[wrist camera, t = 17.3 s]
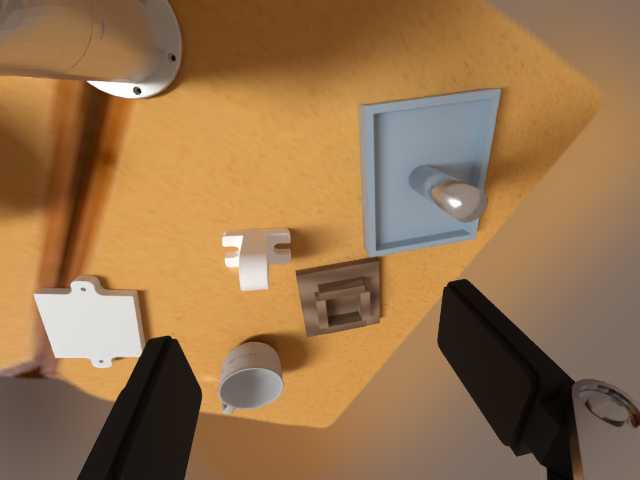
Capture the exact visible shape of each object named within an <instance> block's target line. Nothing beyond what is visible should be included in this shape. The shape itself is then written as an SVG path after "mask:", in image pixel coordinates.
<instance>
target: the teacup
mask: <svg viewBox="0 0 640 480" xmlns="http://www.w3.org/2000/svg"><path fill="white" fill-rule="evenodd" d="M283 387H284V382H283V379H282V371H281V364H280V359H279V356H278V354H277V352H276V351H275V350H274V349H273V348H272V347H271V346H269V345H267V344H265V343H261V342H247V343H244V344H241V345H239V346H237V347H235V348H234V349H232V350H231V351H230V352H229V353H228V355H227V356H226V358H225V360H224V363H223V366H222V371H221V379H220V386H219V389H218V394H219V398H220V399H221V401H222V412H223V413H225V414H231V413H232V412H233V411H234V410H235V408H236V409H245V410H248V409H257V408H260V407H263V406H265V405H268V404H270V403H271V402H273V401H275V400H276V399H277V398H278V397H279V396H280V394H281V393H282V391H283Z"/></svg>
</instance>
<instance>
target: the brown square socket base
mask: <svg viewBox="0 0 640 480" xmlns="http://www.w3.org/2000/svg"><path fill="white" fill-rule="evenodd" d="M296 277H297V283H298V288H299V294H300V299H301V305H302V311H303V316H304V322H305V328H306V333H307V337H311V336H317V335H322V334H329V333H334V332H339V331H344V330H349V329H354V328H359V327H364V326H367V325H372V324H377V323H380V303H379V260H378V259H377V257H371V258H366V259H360V260H354V261H349V262H343V263H337V264H332V265H326V266H320V267H315V268H309V269H303V270H298V271H296Z"/></svg>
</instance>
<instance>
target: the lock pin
mask: <svg viewBox="0 0 640 480" xmlns="http://www.w3.org/2000/svg"><path fill="white" fill-rule="evenodd" d="M409 185H410V187H411V188H412V189H413V190H414V191H416V192H417V193H419V194H420V195H421V196H423V197H424V198H426V199H427V200H429V201H430V202H432V203H433V204H435V205H436V206H438V207H439V208H441V209H442V210H444V211H445V212H447V213H448V214H450V215H451V216H453V217H454V218H456V219H457V220H458V221H460V222H464V223H467V222H472V221H474V220H476V219H477V218H479V217H480V216H481V215H482V214H483V212H484V211H485V209H486V206H487V196H486V194H485V193H484V192H483V191H482V190H480V189H477V188H475V187H473V186H471V185H469V184H467V183H464V182H462V181H460V180H458V179H456V178H454V177H451V176H449V175H447V174H445V173H443V172H440V171H438V170H436V169H434V168H432V167H430V166H427V165H421V166H418V167H416V168H415V169H414V170H413V171H412V172H411V174H410V176H409Z"/></svg>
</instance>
